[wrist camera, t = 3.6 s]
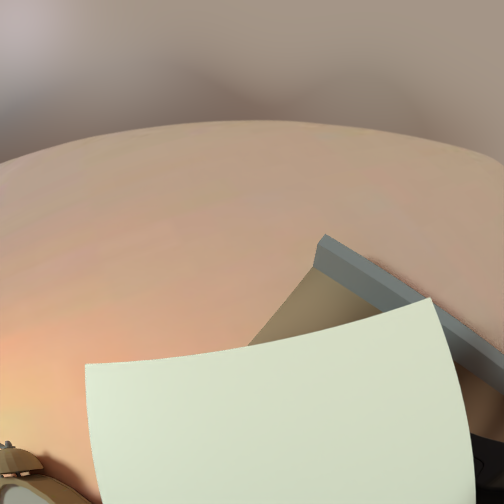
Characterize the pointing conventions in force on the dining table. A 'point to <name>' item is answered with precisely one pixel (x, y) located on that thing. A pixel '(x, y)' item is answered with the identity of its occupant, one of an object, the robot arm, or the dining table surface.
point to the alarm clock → (31, 481)
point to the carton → (289, 420)
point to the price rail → (399, 294)
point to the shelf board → (355, 308)
